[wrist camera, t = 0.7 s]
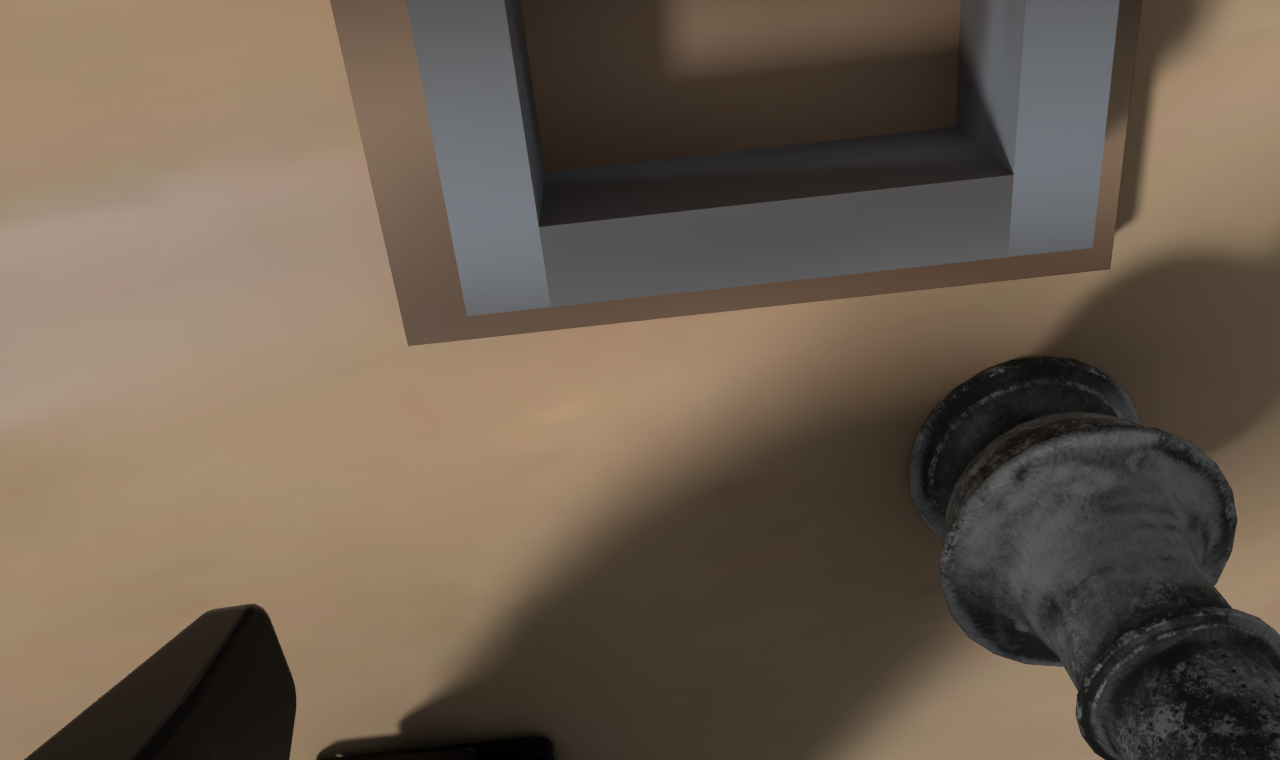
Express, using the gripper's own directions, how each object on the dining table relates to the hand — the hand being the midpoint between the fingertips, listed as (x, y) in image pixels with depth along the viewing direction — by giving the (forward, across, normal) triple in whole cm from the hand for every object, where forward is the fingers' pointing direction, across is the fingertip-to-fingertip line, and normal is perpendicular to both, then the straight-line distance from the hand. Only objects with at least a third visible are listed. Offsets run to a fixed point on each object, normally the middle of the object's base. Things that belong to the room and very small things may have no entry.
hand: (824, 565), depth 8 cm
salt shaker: (+14, -7, +8) cm, 17 cm away
